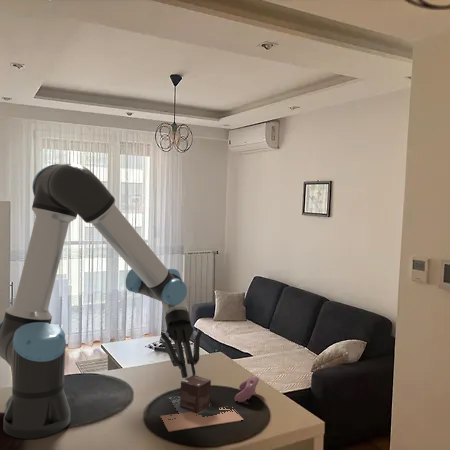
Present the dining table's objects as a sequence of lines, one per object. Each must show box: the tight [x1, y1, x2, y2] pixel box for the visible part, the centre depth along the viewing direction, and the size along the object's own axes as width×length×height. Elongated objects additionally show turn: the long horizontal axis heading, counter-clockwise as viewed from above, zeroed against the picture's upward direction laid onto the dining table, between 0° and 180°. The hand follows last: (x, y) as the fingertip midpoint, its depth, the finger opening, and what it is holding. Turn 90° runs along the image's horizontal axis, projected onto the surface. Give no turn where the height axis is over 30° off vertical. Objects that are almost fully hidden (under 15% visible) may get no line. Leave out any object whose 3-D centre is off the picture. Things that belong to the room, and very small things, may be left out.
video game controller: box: [234, 375, 260, 403], centre depth 135 cm, size 10×5×7 cm, turn 169°
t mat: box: [159, 395, 244, 433], centre depth 125 cm, size 18×20×1 cm
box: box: [179, 374, 212, 413], centre depth 126 cm, size 6×6×7 cm
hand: (191, 387), depth 131 cm, fingers closed
